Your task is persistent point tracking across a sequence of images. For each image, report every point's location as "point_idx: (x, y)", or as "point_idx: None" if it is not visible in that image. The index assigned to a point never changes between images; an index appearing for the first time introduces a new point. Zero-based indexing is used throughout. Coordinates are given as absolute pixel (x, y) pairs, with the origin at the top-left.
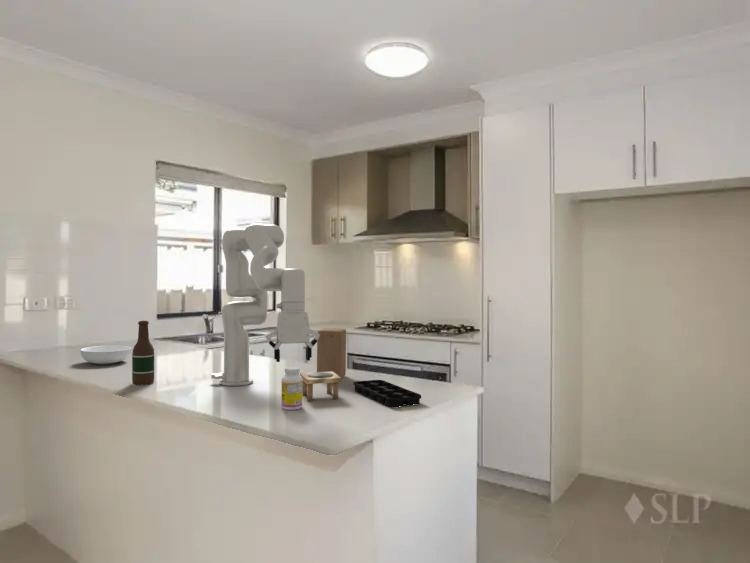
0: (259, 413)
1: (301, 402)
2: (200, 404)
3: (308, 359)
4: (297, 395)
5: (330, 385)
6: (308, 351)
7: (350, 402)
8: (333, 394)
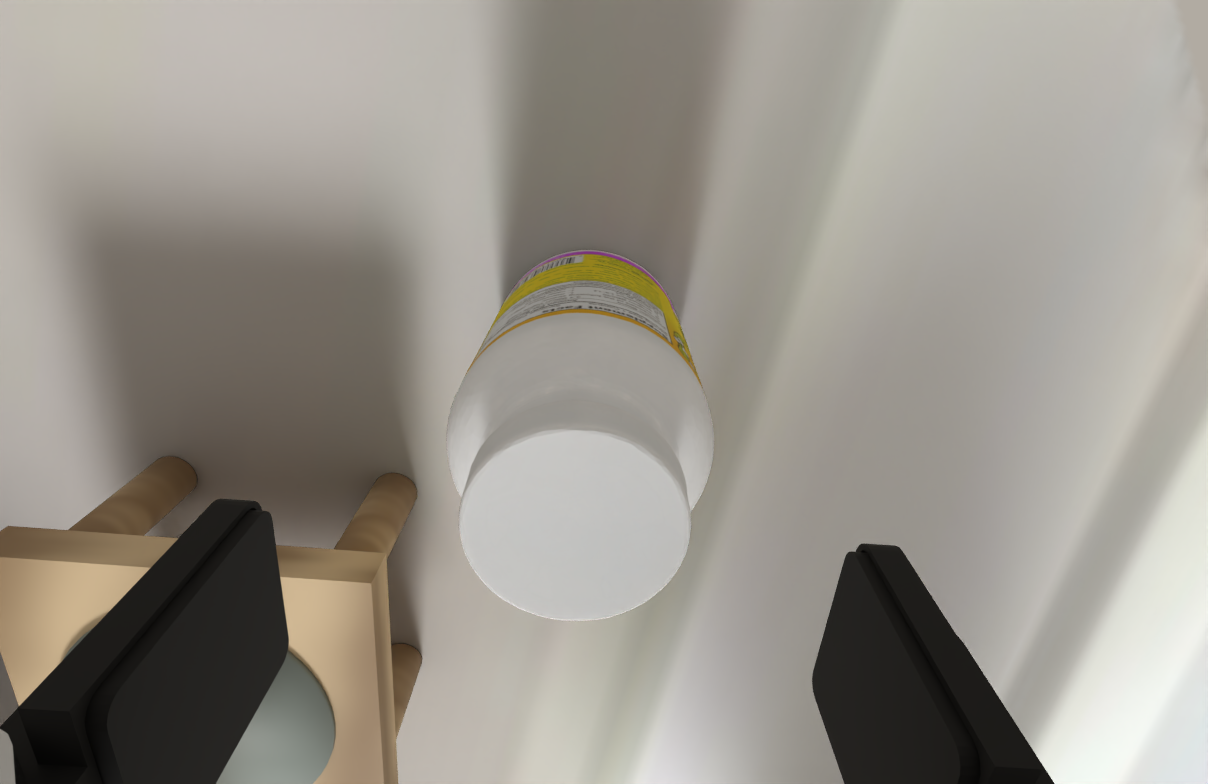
0: (897, 256)
1: (511, 292)
2: (1174, 645)
3: (243, 506)
4: (553, 279)
5: None
6: (131, 636)
7: (53, 327)
8: (171, 494)
